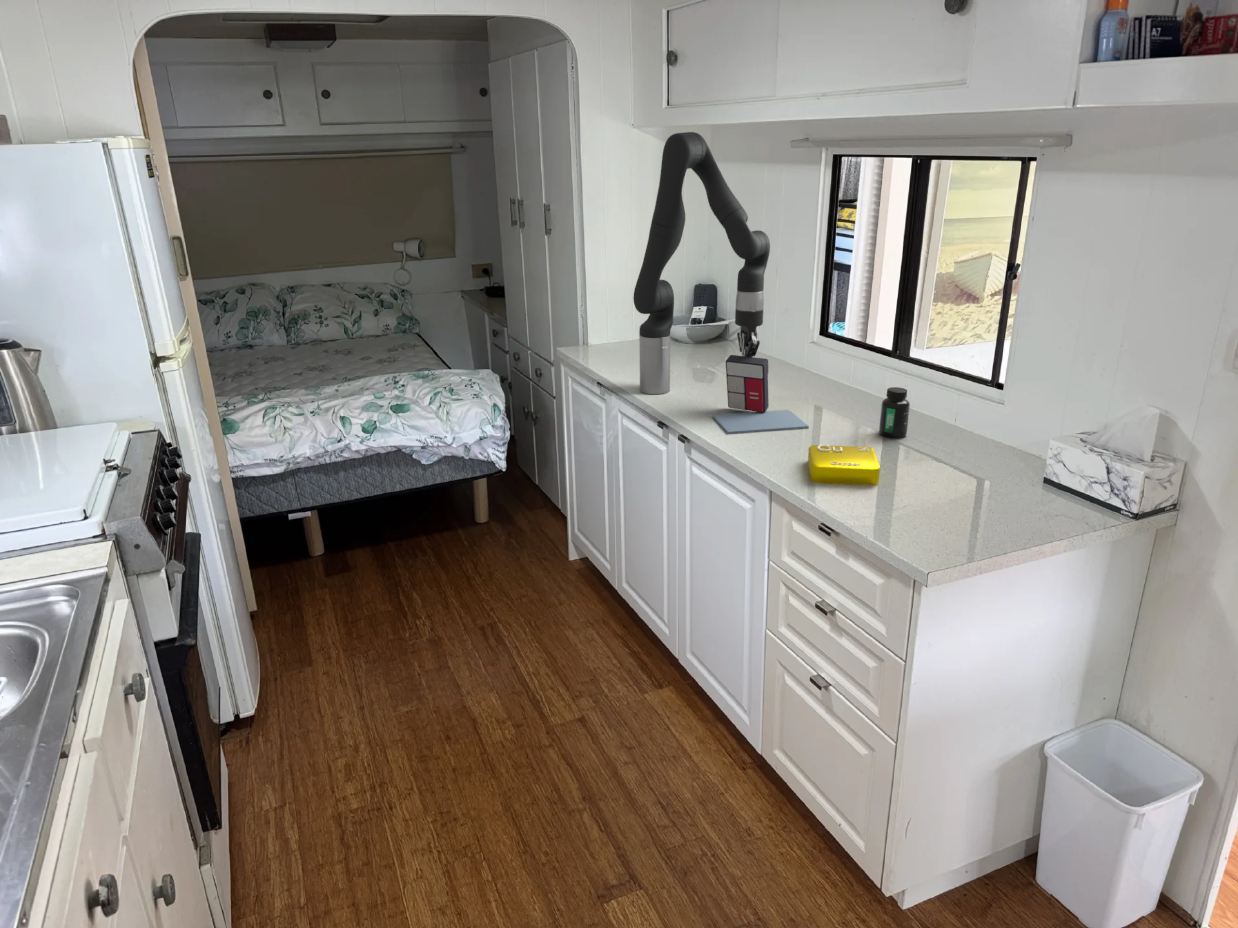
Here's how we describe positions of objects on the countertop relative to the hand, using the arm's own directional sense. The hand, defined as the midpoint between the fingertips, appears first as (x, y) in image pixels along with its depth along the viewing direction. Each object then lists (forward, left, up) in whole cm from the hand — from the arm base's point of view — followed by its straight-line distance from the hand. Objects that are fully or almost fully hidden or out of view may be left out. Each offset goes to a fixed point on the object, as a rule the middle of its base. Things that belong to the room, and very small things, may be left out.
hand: (746, 369), depth 238 cm
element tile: (+51, +7, -12) cm, 53 cm away
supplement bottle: (+29, +30, -12) cm, 43 cm away
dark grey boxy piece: (+2, 0, -11) cm, 11 cm away
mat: (+12, 0, -12) cm, 17 cm away
